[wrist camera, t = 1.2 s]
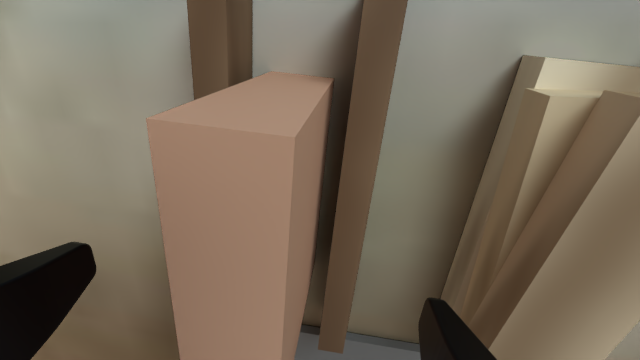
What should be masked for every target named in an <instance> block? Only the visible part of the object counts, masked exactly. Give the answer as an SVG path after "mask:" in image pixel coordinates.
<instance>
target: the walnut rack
mask: <svg viewBox="0 0 640 360" xmlns="http://www.w3.org/2000/svg"><path fill="white" fill-rule="evenodd" d="M407 1H408V0H364V3H363V10H362V18H361V25H360V33H359V40H358V48H357V56H356V63H355V71H354V78H353V86H352V93H351V101H350V108H349V116H348V123H347V131H346V139H345V146H344V154H343V161H342V169H341V176H340V184H339V191H338V199H337V207H336V214H335V222H334V229H333V237H332V244H331V252H330V259H329V267H328V275H327V282H326V290H325V297H324V305H323V312H322V320H321V327H320V335H319V343H318V350H323V351H329V352H335V353H340V354H343V350H344V344H345V339H346V333H347V328H348V323H349V317H350V312H351V306H352V301H353V295H354V290H355V284H356V279H357V274H358V268H359V263H360V257H361V252H362V246H363V241H364V235H365V230H366V225H367V219H368V214H369V208H370V203H371V197H372V192H373V187H374V181H375V176H376V170H377V165H378V159H379V154H380V148H381V143H382V138H383V132H384V127H385V121H386V116H387V110H388V105H389V99H390V94H391V89H392V83H393V78H394V72H395V67H396V61H397V56H398V50H399V45H400V40H401V34H402V29H403V23H404V18H405V12H406V7H407ZM187 9H188V22H189V36H190V49H191V62H192V76H193V89H194V100H196V99H199V98H202V97H204V96H207V95H210V94H212V93H215V92H218V91H220V90H223V89H226V88H228V87H231V86H234V85H236V84H239V83H242V82H244V81H247V80H250V79H252V0H187Z"/></svg>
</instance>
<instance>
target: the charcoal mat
mask: <svg viewBox="0 0 640 360" xmlns="http://www.w3.org/2000/svg"><path fill="white" fill-rule="evenodd" d="M319 335H320V328H319V327H313V326H307V325H301V329H300V334H299V338H298V343H297V348H296V353H295V358H294V360H421V356H420V344H415V343H409V342H403V341H397V340H391V339H385V338H379V337H373V336H367V335H361V334H355V333H349V332H347V333H346V339H345V344H344V350H343V354H340V353H335V352H329V351H323V350H318V343H319Z"/></svg>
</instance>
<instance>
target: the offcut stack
mask: <svg viewBox="0 0 640 360" xmlns="http://www.w3.org/2000/svg"><path fill="white" fill-rule="evenodd" d="M440 299H442V300H444V301H446V302H447V303H448V305H449V306H450V307H451V308H452V309H453V310H454V311H455V312H456V314H457V315H458V316H459V317H460V318H461V319H462V320H463V321H464V323H465V324H466V325H467V326H468V327H469V328H470V329H471V331H472V332H473V333H474V334H475V335H476V336H477V337H478V338H479V340H480V341H481V342H482V343H483V344H484V345H485V346H486V347H487V349H488V350H489V351H490V352H491V353H492V354H493V355H494V357H495V358H496V359H497V360H605V358H606V357H607V356H608V355H609V354H610V353H611V352H612V351H613V350H614V349H615V347H616V346H617V345H618V344H619V343H620V342H621V341H622V340H623V339H624V337H625V336H626V335H627V334H628V333H629V332H630V331H631V330H632V329H633V328H634V326H635V325H636V324H637V323H638V322H639V321H640V67H633V66H624V65H614V64H604V63H595V62H585V61H575V60H565V59H556V58H546V57H536V56H527V55H523V57H522V60H521V63H520V66H519V69H518V72H517V75H516V78H515V81H514V84H513V87H512V89H511V92H510V95H509V98H508V101H507V104H506V107H505V110H504V113H503V116H502V119H501V122H500V125H499V128H498V131H497V134H496V136H495V139H494V142H493V145H492V148H491V151H490V154H489V157H488V160H487V163H486V166H485V169H484V172H483V175H482V178H481V180H480V183H479V186H478V189H477V192H476V195H475V198H474V201H473V204H472V207H471V210H470V213H469V216H468V219H467V222H466V224H465V227H464V230H463V233H462V236H461V239H460V242H459V245H458V248H457V251H456V254H455V257H454V260H453V263H452V266H451V268H450V271H449V274H448V277H447V280H446V283H445V286H444V289H443V292H442V295H441V298H440Z"/></svg>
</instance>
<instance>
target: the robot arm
mask: <svg viewBox="0 0 640 360" xmlns="http://www.w3.org/2000/svg"><path fill="white" fill-rule="evenodd" d="M95 273H96V264H95V260H94V256H93V252H92V249H91V247H90V246H89V245H88V244H86V243H79V242H70V243H67V244H64V245H61V246H58V247H55V248H52V249H49V250H46V251H43V252H40V253H37V254H34V255H31V256H28V257H26V258H23V259H20V260H17V261H14V262H11V263H8V264H5V265H2V266H0V360H31V359H32V357H33V356H34V355H35V354H36V353H37V351H38V350H39V349H40V348H41V347H42V346H43V344H44V343H45V342H46V341H47V340H48V338H49V337H50V336H51V335H52V334H53V332H54V331H55V330H56V329H57V327H58V326H59V325H60V323H61V322H62V321H63V319H64V318H65V317H66V315H67V314H68V312H69V311H70V310H71V308H72V307H73V305H74V304H75V303H76V301H77V300H78V298H79V297H80V296H81V294H82V293H83V291H84V290H85V289H86V287H87V286H88V284H89V283H90V282H91V280H92V279H93V277H94V276H95ZM419 343H420V356H421V360H497V359H496V358H495V357H494V355H493V354H492V353H491V352H490V351H489V350H488V349H487V347H486V346H485V345H484V344H483V343H482V342H481V341H480V340H479V338H478V337H477V336H476V335H475V334H474V333H473V332H472V331H471V329H470V328H469V327H468V326H467V325H466V324H465V323H464V321H463V320H462V319H461V318H460V317H459V316H458V315H457V314H456V312H455V311H454V310H453V309H452V308H451V307H450V306H449V305H448V303H447V302H446V301H444V300H442V299H436V298H427V299H426V301H425V304H424V307H423V310H422V313H421V317H420V320H419Z"/></svg>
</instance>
